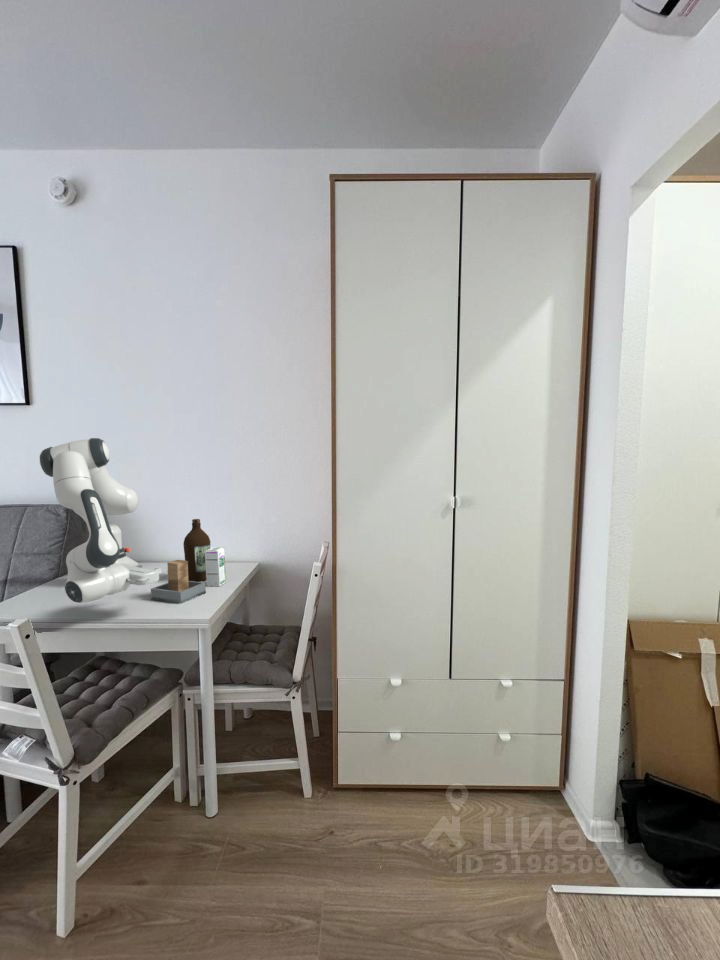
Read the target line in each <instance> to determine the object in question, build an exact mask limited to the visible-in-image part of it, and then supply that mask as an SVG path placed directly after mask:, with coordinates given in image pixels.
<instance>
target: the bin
mask: <svg viewBox="0 0 720 960" xmlns="http://www.w3.org/2000/svg"><path fill="white" fill-rule="evenodd" d="M188 583H189V589H186V590H183V591H181V592H179V591H171V590H169V588H168V582H166V583H163V584H160V585H157V586H155V587H152V588H150V599H151V601H160V602H167V603H173V602H174V603H175V604H180V603H181V604H184V603H186V602H188V601H191V600H193V599H195V597H196V598H197V596H198V597H200V596H202V594H203V595H205V594H207V590H206V589H207V588H206V586H207V584H206V582H204V581H202V582H194V581H188ZM192 598H193V599H192ZM190 599H191V600H190ZM185 601H186V602H185ZM183 602H184V603H183Z"/></svg>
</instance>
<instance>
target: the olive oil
mask: <svg viewBox="0 0 720 960" xmlns="http://www.w3.org/2000/svg"><path fill="white" fill-rule="evenodd" d="M191 521H192V523H191V526H192V527H191V529H190V531H189V532H188V533H187V534H186V535H185V537H184V539H183V543H182V544H183V553H184V561H188V581H194V582H201V581H202V582H207V581H206V563H205V551H206V550H208V549H210V548H211V540H210V536H209V535H208V534H207V533H206V532H205V531H204V530H203V529H202V526H201V519H200V518H194V519H193V518H192V519H191Z"/></svg>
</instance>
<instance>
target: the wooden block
mask: <svg viewBox="0 0 720 960" xmlns="http://www.w3.org/2000/svg"><path fill="white" fill-rule="evenodd" d="M166 564H167V583H168V588H169V590H171V591H179V592H181V591H183V590H186V589H189V583H188V561H185V559H184V560H183V559H176V560H171V561H168V562H167V563H166Z"/></svg>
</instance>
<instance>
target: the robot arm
mask: <svg viewBox="0 0 720 960" xmlns="http://www.w3.org/2000/svg"><path fill="white" fill-rule="evenodd" d="M109 462H110V449H109V447H108V445H107V444H106V443H105V441H104V440H103V439H101V438H100V437H99V438H98V437H91V438H89V439H80V440H79V439H78V440H71V441H70V442H65V443H62V444H59V445H58V444H57V445H55V446H49V447H47V448H44V449H43V450H42V451H41V452H40V454H39V465H40V467H41V470H42V471H43V473H44V474H45V475H46V476H49V477H51V478H52V480H53V488H54V494H55V497H56V500H57V502H58V503H59V505H60V506H63V507H64V508H66V509H68V510H69V509H70V510H72V511H73V512H74V513H75V514H77V515H78V516H80V517H81V518H82V519H83V521H84V522H85V524H86V527H87V530H88V533H89V535H88V538H87V541H85V542H84V543H83V542H82V544H79V545H78V546H76V547H74V548H73V549H71V550H70V551H68V553H67V554H66V556H65V566H66V569H67V579H66V581H65V584H64V591H65V594H66V596H67V597H68V598H69V600H71V601H72V602H74V603H77V604H78V603H79V604H83V603H89V602H94V601H97V600H100V599H102V598H103V599H104V597H105V596H113V595H115V594H119V593H121V592H125V591H127V590H128V589H129V587H130V585H135V586H146V585H149V584H154V583H157V582H159V581H160V575H161V574H162V568H160V567H156V568H154V569H153V568H145V567H143V566H142V565H140V564H139V563H138V562H137V561H136V560H134V559H132V558H130V557H129V556H127V554H126V553H130V552H131V551H132V548H131V547H126V546H125V547H123V539H122V537H123V536H122V529H121V528H120V526H118V525H117V524H115V523H112V521H110V519H108V516H123V515H126V514H127V515H128V514H131V513H134V511H136V510H137V508H138V504H139V496H138V493H137V492H136V491H135V490H134V489H132V488H130V487H127V486H125V485H123V484H122V483H120V482H118V480H116V479H115V478H114V477H113V476H111V474H110V472H109V471H108V469H107V468H106V465H108V463H109Z"/></svg>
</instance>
